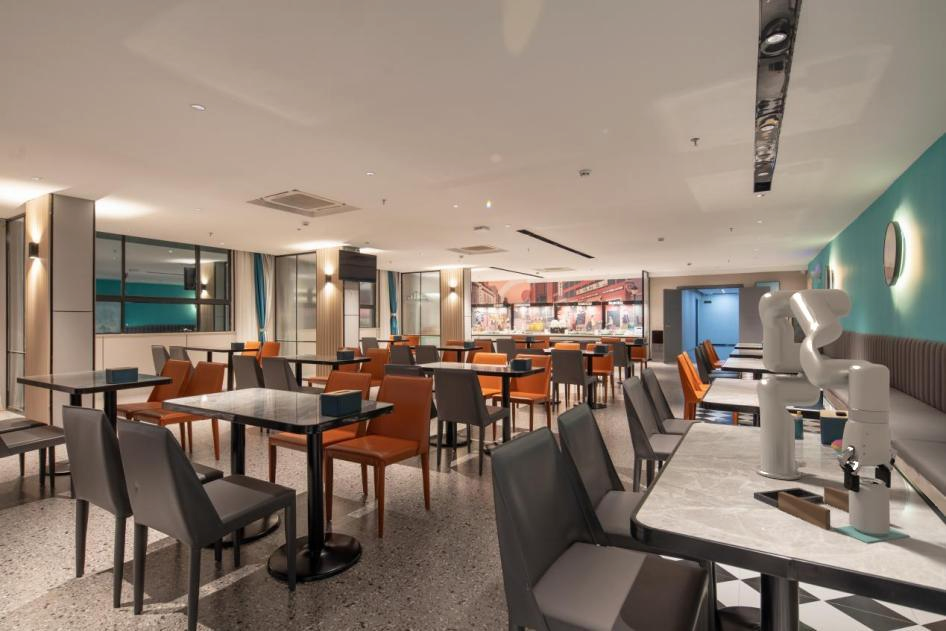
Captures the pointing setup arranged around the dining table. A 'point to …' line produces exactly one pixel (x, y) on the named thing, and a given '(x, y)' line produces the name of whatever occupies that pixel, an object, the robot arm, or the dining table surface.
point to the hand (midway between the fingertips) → (867, 488)
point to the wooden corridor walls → (814, 506)
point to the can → (870, 507)
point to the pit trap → (772, 496)
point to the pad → (870, 538)
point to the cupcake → (837, 446)
